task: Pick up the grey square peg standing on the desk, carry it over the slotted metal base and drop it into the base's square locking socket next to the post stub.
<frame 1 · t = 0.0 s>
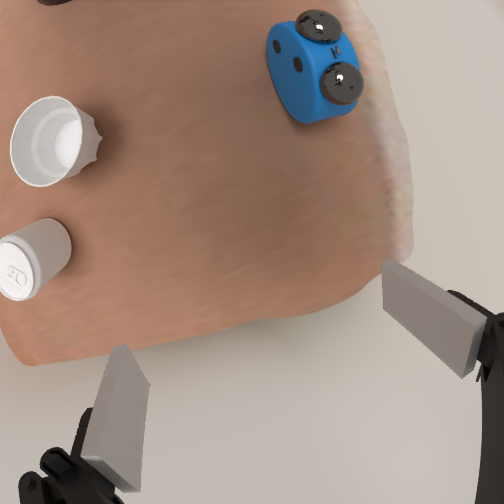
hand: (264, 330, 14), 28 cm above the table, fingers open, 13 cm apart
beverage can: (51, 243, 36), on the table
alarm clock: (291, 82, 36), on the table
cup: (76, 144, 33), on the table
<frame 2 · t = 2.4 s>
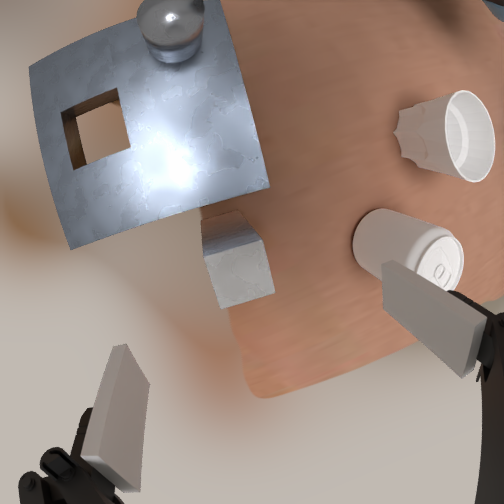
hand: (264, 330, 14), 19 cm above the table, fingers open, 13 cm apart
beverage can: (376, 238, 35), on the table
grey square peg: (224, 233, 31), on the table
slotted metal base: (141, 118, 26), on the table
cup: (416, 135, 32), on the table
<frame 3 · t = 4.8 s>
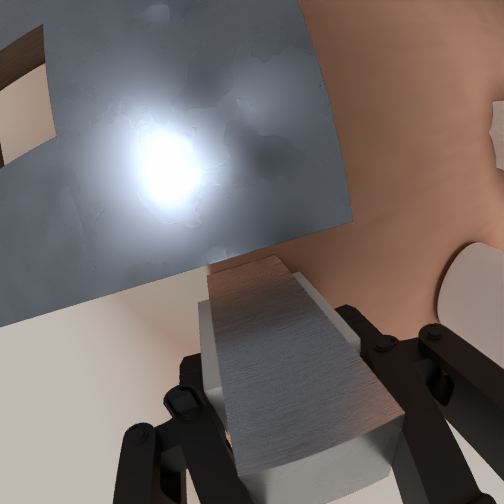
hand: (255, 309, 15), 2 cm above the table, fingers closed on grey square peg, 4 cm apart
beverage can: (461, 283, 21), on the table
grey square peg: (250, 296, 17), on the table, touching gripper
slotted metal base: (95, 84, 12), on the table
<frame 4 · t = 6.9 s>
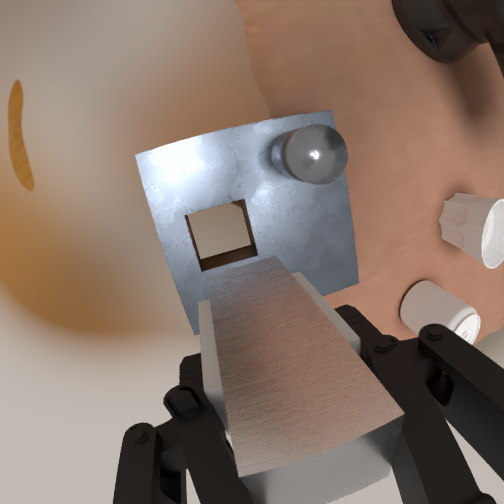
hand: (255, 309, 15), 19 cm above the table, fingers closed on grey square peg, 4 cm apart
beverage can: (415, 301, 42), on the table
grey square peg: (250, 296, 17), point 17 cm above the table, touching gripper
slotted metal base: (253, 217, 33), on the table
cup: (453, 218, 39), on the table
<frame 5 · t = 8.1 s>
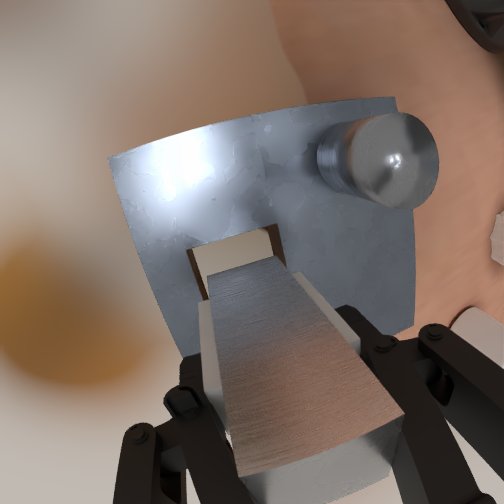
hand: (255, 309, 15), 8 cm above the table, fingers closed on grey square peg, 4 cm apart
beverage can: (459, 330, 33), on the table
grey square peg: (250, 296, 17), point 7 cm above the table, touching gripper
slotted metal base: (284, 244, 24), on the table
cup: (502, 234, 30), on the table
when the fingers open (5 cm above the table, at t = 9.0 s): grey square peg drops 3 cm, resting in slotted metal base.
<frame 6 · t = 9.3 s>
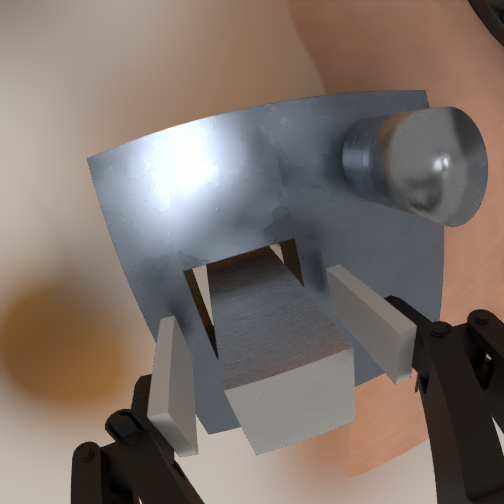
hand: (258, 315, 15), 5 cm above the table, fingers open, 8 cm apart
grey square peg: (243, 276, 20), resting in slotted metal base
slotted metal base: (298, 259, 20), on the table
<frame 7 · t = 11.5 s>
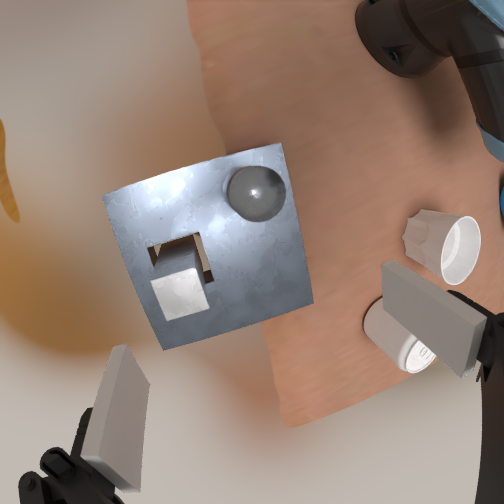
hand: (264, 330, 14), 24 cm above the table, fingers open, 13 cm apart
beverage can: (380, 315, 46), on the table
grey square peg: (182, 254, 36), resting in slotted metal base
slotted metal base: (212, 244, 36), on the table
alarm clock: (503, 199, 47), on the table
cup: (418, 234, 43), on the table
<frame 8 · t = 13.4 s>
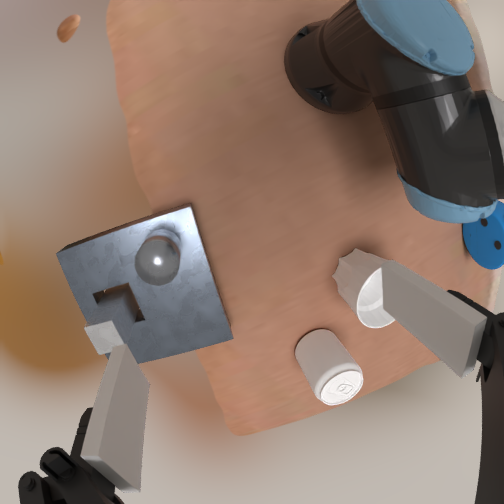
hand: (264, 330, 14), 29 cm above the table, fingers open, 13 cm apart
beverage can: (314, 345, 51), on the table
grey square peg: (124, 294, 41), resting in slotted metal base
slotted metal base: (147, 287, 42), on the table
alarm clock: (468, 226, 50), on the table
cup: (353, 271, 48), on the table
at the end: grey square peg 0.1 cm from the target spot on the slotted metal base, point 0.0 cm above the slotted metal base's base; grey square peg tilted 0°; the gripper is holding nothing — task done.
